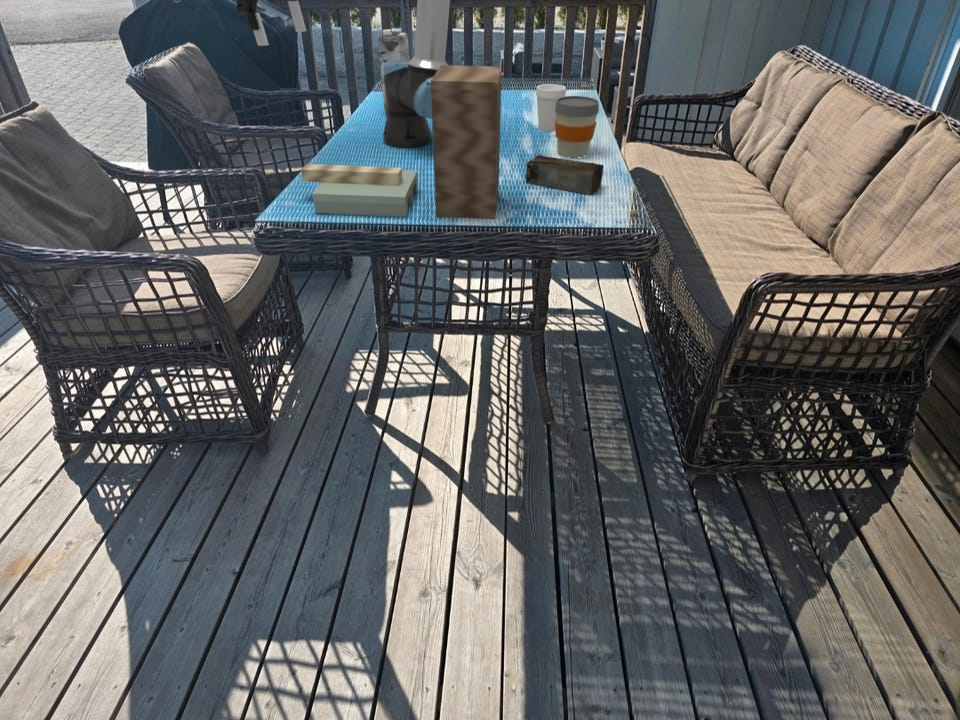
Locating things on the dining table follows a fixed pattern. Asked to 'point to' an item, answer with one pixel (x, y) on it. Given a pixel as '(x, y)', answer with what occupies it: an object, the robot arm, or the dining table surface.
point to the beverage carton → (564, 174)
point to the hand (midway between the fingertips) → (282, 38)
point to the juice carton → (392, 52)
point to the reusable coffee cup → (575, 124)
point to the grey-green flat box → (367, 197)
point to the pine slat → (352, 174)
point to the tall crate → (466, 140)
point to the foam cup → (548, 104)
